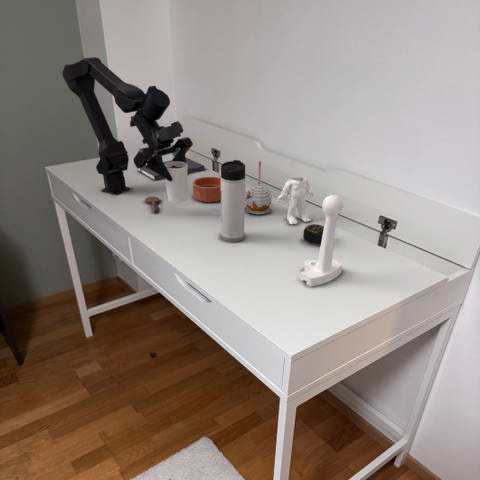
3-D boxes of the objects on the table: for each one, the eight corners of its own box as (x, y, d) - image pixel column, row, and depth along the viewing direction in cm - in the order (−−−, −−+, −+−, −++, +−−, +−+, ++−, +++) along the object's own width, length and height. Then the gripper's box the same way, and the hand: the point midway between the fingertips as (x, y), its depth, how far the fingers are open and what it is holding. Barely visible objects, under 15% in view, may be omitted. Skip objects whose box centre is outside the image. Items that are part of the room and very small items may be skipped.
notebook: (154, 180, 164) (204, 169, 175) (154, 176, 163) (204, 165, 174) (137, 171, 172) (186, 161, 183) (137, 166, 171) (186, 157, 182)
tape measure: (321, 249, 122) (323, 236, 120) (298, 242, 125) (299, 229, 123) (331, 239, 127) (333, 227, 125) (309, 233, 130) (310, 221, 128)
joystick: (313, 288, 106) (324, 204, 94) (290, 275, 111) (297, 194, 99) (345, 273, 112) (358, 192, 100) (321, 261, 116) (331, 183, 105)
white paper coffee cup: (162, 200, 136) (159, 166, 130) (173, 193, 141) (171, 160, 135) (182, 204, 134) (180, 170, 128) (192, 196, 139) (191, 163, 133)
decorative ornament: (248, 205, 147) (249, 156, 138) (272, 207, 145) (275, 158, 137) (243, 214, 140) (244, 164, 132) (268, 217, 139) (271, 166, 130)
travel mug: (247, 233, 129) (249, 161, 118) (239, 243, 124) (240, 168, 113) (226, 230, 131) (226, 158, 119) (217, 240, 126) (216, 165, 114)
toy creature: (284, 227, 133) (287, 186, 126) (273, 219, 138) (276, 179, 131) (319, 220, 138) (324, 180, 131) (308, 213, 142) (312, 174, 135)
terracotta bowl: (186, 199, 150) (185, 183, 147) (205, 189, 158) (205, 174, 155) (214, 206, 146) (214, 190, 143) (232, 195, 153) (232, 180, 150)
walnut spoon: (163, 212, 141) (163, 208, 140) (148, 213, 140) (148, 210, 139) (158, 198, 150) (158, 195, 149) (145, 199, 149) (144, 196, 148)
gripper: (135, 117, 120) (168, 170, 121) (187, 107, 132) (216, 155, 132) (120, 143, 128) (150, 192, 129) (169, 131, 140) (197, 176, 141)
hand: (179, 177), depth 133 cm, fingers closed on white paper coffee cup, 6 cm apart
